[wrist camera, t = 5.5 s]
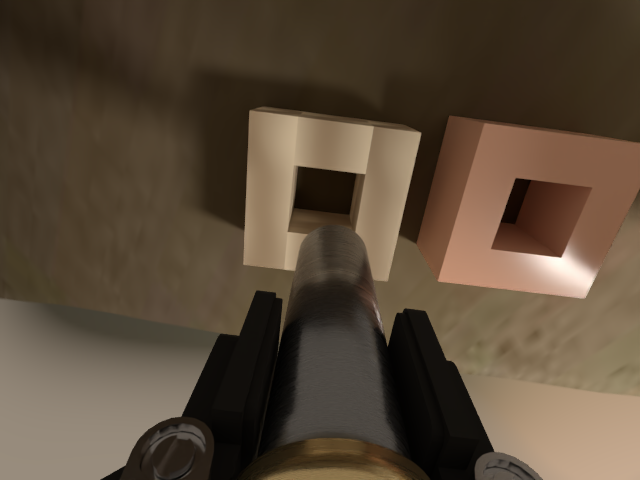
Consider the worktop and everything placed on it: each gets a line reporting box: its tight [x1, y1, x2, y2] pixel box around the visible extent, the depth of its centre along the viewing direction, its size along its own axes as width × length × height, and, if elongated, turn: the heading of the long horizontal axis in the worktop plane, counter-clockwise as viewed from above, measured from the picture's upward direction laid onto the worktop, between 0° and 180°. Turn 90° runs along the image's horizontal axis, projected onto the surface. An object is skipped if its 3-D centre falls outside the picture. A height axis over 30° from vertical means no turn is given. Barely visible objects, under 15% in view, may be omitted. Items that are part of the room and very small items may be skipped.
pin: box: [236, 225, 430, 480], centre depth 10 cm, size 4×4×11 cm
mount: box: [243, 106, 421, 281], centre depth 24 cm, size 10×10×5 cm
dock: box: [417, 115, 640, 298], centre depth 24 cm, size 10×10×6 cm
